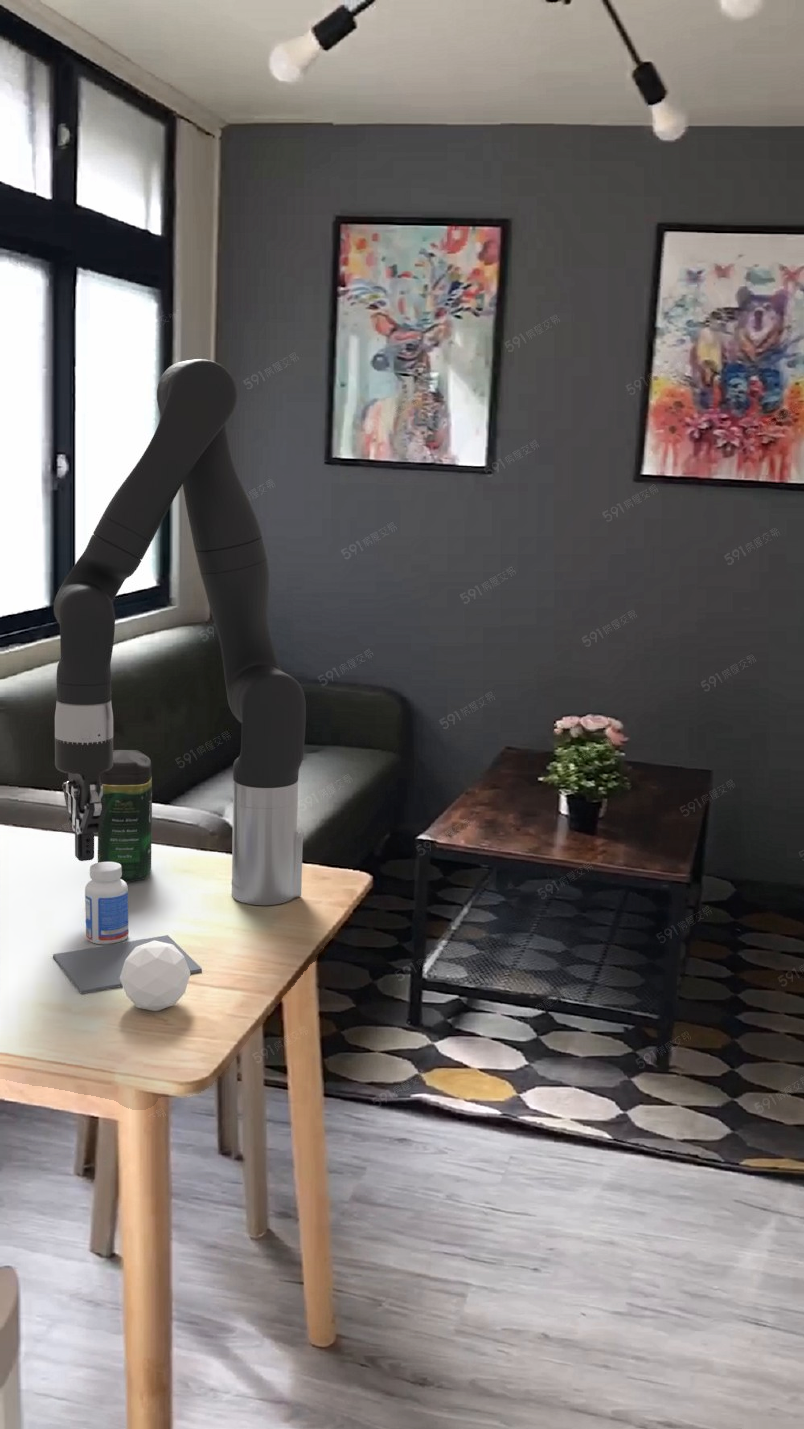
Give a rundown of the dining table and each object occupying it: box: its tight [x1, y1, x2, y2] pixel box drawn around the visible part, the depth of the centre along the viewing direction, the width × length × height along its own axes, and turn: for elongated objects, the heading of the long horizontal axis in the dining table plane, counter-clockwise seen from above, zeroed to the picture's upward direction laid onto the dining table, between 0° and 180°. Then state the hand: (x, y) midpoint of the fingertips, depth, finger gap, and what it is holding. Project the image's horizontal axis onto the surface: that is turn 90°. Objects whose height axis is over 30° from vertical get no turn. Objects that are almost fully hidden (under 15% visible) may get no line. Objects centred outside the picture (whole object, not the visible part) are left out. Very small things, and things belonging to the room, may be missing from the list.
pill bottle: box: [84, 862, 129, 945], centre depth 163 cm, size 6×5×10 cm
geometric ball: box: [120, 940, 191, 1012], centre depth 144 cm, size 8×8×8 cm
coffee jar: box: [97, 749, 153, 884], centre depth 187 cm, size 10×8×19 cm
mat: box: [52, 934, 203, 995], centre depth 156 cm, size 15×12×1 cm
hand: (84, 858), depth 170 cm, fingers closed
